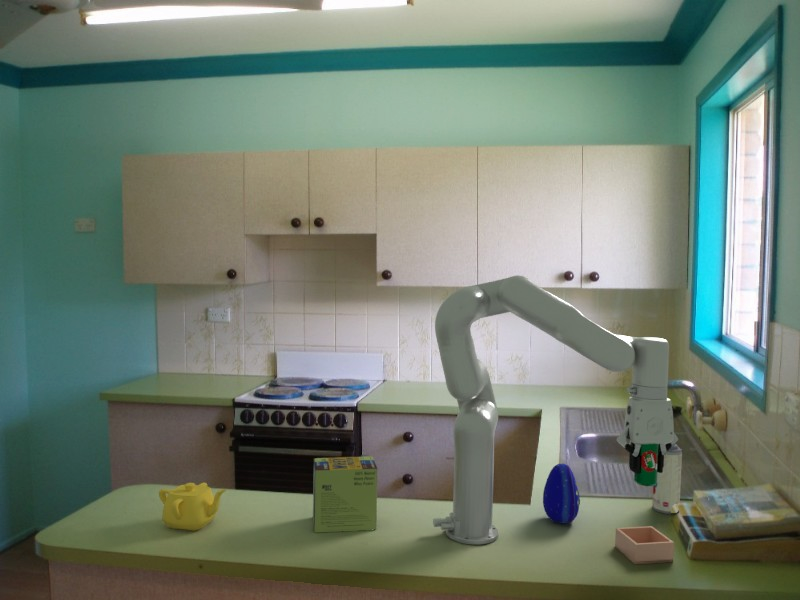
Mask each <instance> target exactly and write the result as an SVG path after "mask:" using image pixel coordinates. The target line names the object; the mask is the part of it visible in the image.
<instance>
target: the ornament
mask: <svg viewBox="0 0 800 600" xmlns="http://www.w3.org/2000/svg"><path fill="white" fill-rule="evenodd" d="M542 496H543V497H542V504H543V509H544V512H545V514H546V516H547V517H548V519H550V520H551V521H552V522H554V523H558V524H570V523H572V522H574V520H575V519H576V518H577V517H578V516H577V515H578V513H579V509H580V505H581V497H580V493H579V489H578V485H577V481H576V477H575V475H574V472H573V470H572V469H571V467H570V466H569V465H568V464H566V463H558V464H556V465H554V466H553V467H552V468H551V470H550V472H549V474H548V476H547V478H546V482H545V484H544V487H543V493H542Z"/></svg>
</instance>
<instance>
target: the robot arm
mask: <svg viewBox="0 0 800 600" xmlns="http://www.w3.org/2000/svg"><path fill="white" fill-rule="evenodd" d="M507 313H511V314H513V315H515V316H516V317H518V318H520V319H521V320H523V321H525V322H527V323H529V324H530V325H532V326H534V327H535V328H537V329H539V330H540V331H542V332H544V333H545V334H548V336H550V337H552V338H554V339H555V340H557V341H558V342H559V343H561V344H564V345H566V346H567V347H569V348H570V349H572V350H574V351H575V352H576V353H578V354H579V355H581V356H583V357H585V358H586V359H588V360H590V361H591V362H594V363H595V364H597V365H598V366H600V367H602V368H603V369H606V370H607V371H610V372H613V373H623V372H626V371H627V370H629V369H630V368H631V367H632V379H631V380H632V381H631V382H632V383H631V386H630V387H627V389H626V393H627V394H629V395H631V396H629V398H628V401H627V403H626V404H627V405H626V409H625V415H624V424H623V425H624V426H623V430H622V431H621V433H619V435H618V437H617V438H616V442H617V443H618V444H619V445H620V446H622V447H623V448H624V449H625V451H627V453H628V454H629V459H628V460H629V462H628V467H629V470H630V471H631V472H632V473H633V474H634V473H636V474H639V473H640V457H639V456H638V454H639V450H640V447H641V445H646V444H659V455H658V472H659V473H662V472H663V467H664V455H666V454H667V451H668V450H669V449H670V448H671V446H672V445H673V444H676V443H677V442H678V441H679V438H678V436H677V434H676V433H675V430H674V428H675V426H674V425H675V424H674V411H673V406H672V405H673V404H672V399H670V398H668V386H669V385H668V384H669V383H668V382H669V366H670V365H669V363H670V362H669V360H670V358H669V357H670V343H669V342H668V340H667V339H666V338H665V339H664V338H662V337H661V338H660V337H653V336H643V337H642V336H641V337H636V336H629V335H628V336H627V335H625V334H624V335H623V334H616V333H612V332H611V331H609V330H607V329H605V328H604V327H602V326H600V325H599V324H598V323H595V322H594V321H592V320H591V319H589V318H588V317H587V316H585V315H584V314H582V312H581V311H579V310H578V309H577V308H576V307H574V305H572V304H570V303H569V302H567V301H565V300H564V299H562V298H560V297H559V296H556V295H554V294H553V293H551V292H549V291H547V290H545V289H544V288H542V287H540V286H538V285H537V284H535V283H534V282H533V281H531V279H529V278H527V277H526V276H523V275H518V274H517V275H512V276H510V277H506V278H501V279H498V280H492V281H489V282H483V283H479V284H478V283H477V284H474V285H470V286H464V287H461V288H459V289H458V290H456V291H454V292H453V293H451V294H450V295H449V296H448V297H446V299H445V300H444V301H443V302H442V304H441V305H440V306H439V308H438V310H437V313H436V315H435V320H434V324H435V325H434V332H435V336H436V338H435V339H436V343H437V347H438V351H439V356H440V360H441V365H442V369H443V374H444V379H445V385H446V388H447V391H448V392H449V394H450V395H451V396H452V397H453V398H454V399H455V400H456V401H457V405H458V408H459V409H458V410H459V412H458V413H457V416H456V417H455V419H454V423H453V433H452V434H453V436H452V437H453V491H452V492H453V499H452V500H453V501H452V503H453V504H452V512H449V516H445V518H440V517H438V518H432V520H433V521H432V525H433V527H434V528H440V530H442V531H444V530H445V532H446V536H447V537H448V538H449V539H451V540H453V541H454V542H458V543H461V544H466V545H485V544H486V545H487V544H490V543H494V541H497V539H498V538H499V529H498V528H497V527H496V526H494V525H493V507H494V505H493V504H494V503H493V502H494V501H493V500H494V475H495V474H494V472H495V471H494V468H495V467H494V466H495V458H494V457H495V432H496V428H497V425H498V422H499V411H498V407H497V402H496V397H495V394H494V390H493V385H492V382H491V378H490V374H489V370H488V368H487V367H486V365H485V363H483V362H482V360H481V359H478V356H477V353H476V349H475V344H474V340H473V336H472V332H471V327H472V325H473V324H474V323H475V322H476V321H479V320H480V319H483V318H488V317H492V316H498V315H502V314H507ZM627 440H629V443H628V441H627Z"/></svg>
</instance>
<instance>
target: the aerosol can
mask: <svg viewBox="0 0 800 600" xmlns="http://www.w3.org/2000/svg"><path fill="white" fill-rule="evenodd" d="M682 458H683V452H682V448H681V447H680V446H678V444H676V443H675V444H673V445H672V446H671V448H670V449H669V450H668V451H667V454H666V455H664V467H663V472H662V473H659V472H658V479H657V483H656V484H655V485H654V486H652V501H651V502H652V503H651V504H652V505H651V508H652V510H653V511H655V512H657V513H659V514H660V513H661V514H664V515H672V514H671V509H672V506H673V505H674V504H678V503H681V502H680V501H681V481H682V463H683V462H682V460H683V459H682Z"/></svg>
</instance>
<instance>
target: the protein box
mask: <svg viewBox="0 0 800 600" xmlns="http://www.w3.org/2000/svg"><path fill="white" fill-rule="evenodd" d="M312 473H313V474H312V475H313V476H312V477H313V482H312V484H313V485H312V487H313V490H312V491H313V493H312V495H313V497H312V498H313V499H312V501H313V502H312V522H313V532H314V533H317V534H319V533H339V532H342V531H343V532H359V531H358V530H366V531H373V530H372V529H376V530H377V522H378V521H377V516H378V515H377V512H378V511H377V510H378V509H377V507H378V506H377V504H378V467H377V464H376V462H375V460H374V457H373V456H342V457H339V456H338V457H317V458H313V471H312Z"/></svg>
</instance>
